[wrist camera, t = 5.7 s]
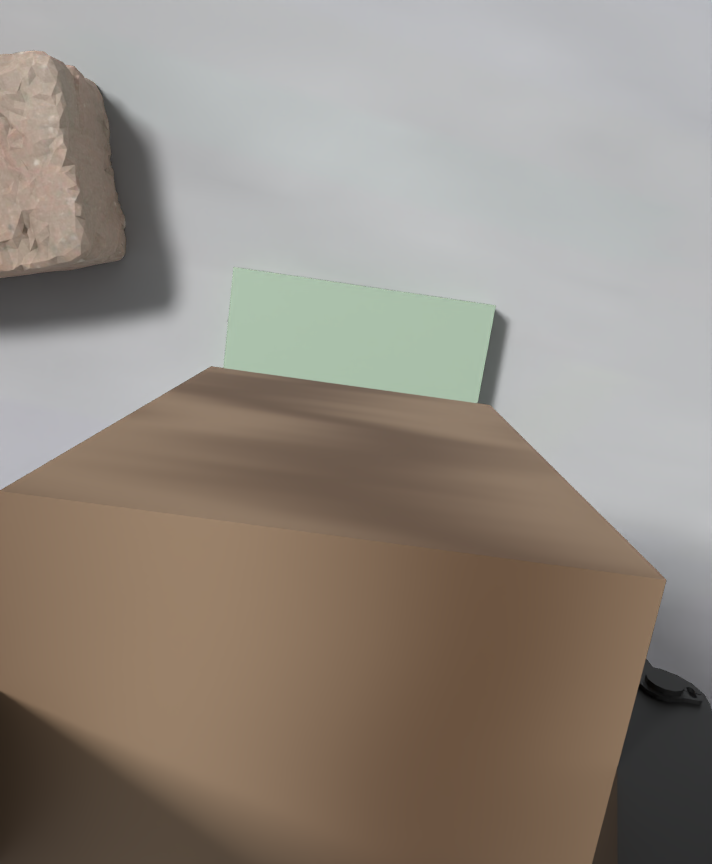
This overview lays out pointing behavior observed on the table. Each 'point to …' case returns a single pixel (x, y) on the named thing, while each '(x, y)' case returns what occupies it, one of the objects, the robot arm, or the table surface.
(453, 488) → the walnut block
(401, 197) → the table surface
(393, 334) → the pad
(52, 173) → the brick
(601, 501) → the table surface
